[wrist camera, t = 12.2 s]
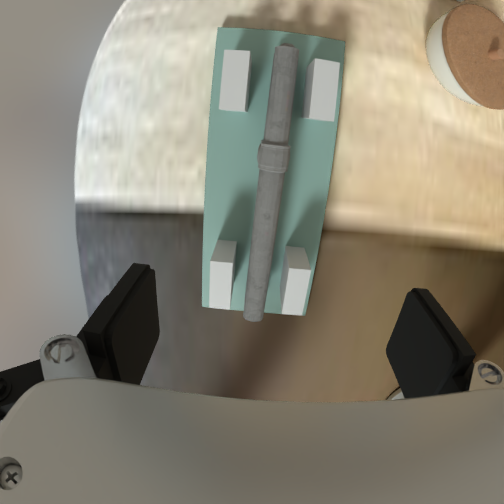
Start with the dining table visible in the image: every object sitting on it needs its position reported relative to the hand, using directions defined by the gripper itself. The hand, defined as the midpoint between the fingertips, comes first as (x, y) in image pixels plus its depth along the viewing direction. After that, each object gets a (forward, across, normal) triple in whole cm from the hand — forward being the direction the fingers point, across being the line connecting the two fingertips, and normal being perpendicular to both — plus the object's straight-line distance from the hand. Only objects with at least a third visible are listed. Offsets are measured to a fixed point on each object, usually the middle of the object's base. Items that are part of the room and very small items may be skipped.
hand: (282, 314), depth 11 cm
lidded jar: (+22, -19, -18) cm, 34 cm away
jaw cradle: (+22, 0, 0) cm, 22 cm away
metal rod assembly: (+21, 0, 0) cm, 21 cm away
